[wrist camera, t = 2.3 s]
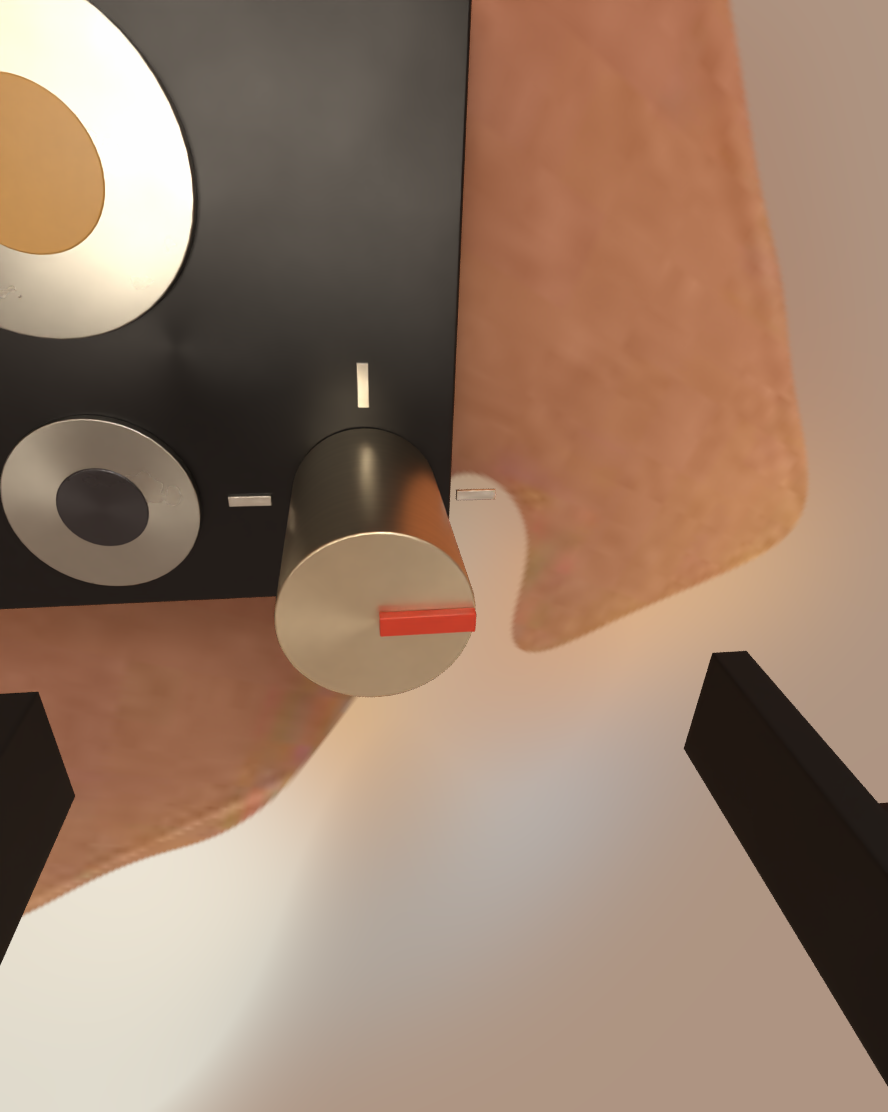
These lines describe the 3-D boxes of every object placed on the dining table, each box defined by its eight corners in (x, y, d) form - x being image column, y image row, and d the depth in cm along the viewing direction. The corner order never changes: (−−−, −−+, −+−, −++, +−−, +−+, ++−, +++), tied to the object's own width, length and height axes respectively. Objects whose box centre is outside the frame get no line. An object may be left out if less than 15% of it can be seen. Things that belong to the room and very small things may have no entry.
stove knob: (297, 562, 23) (281, 712, 17) (286, 428, 21) (262, 541, 14) (434, 556, 24) (472, 698, 17) (438, 426, 22) (484, 534, 15)
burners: (-4, 585, 22) (-10, 592, 22) (-237, -65, 14) (-253, -72, 14) (248, 575, 23) (246, 581, 23) (168, -31, 15) (164, -37, 15)
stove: (1, 588, 25) (-33, 628, 23) (-225, -52, 16) (-320, -93, 14) (474, 568, 28) (486, 602, 25) (512, 8, 19) (537, -17, 16)
